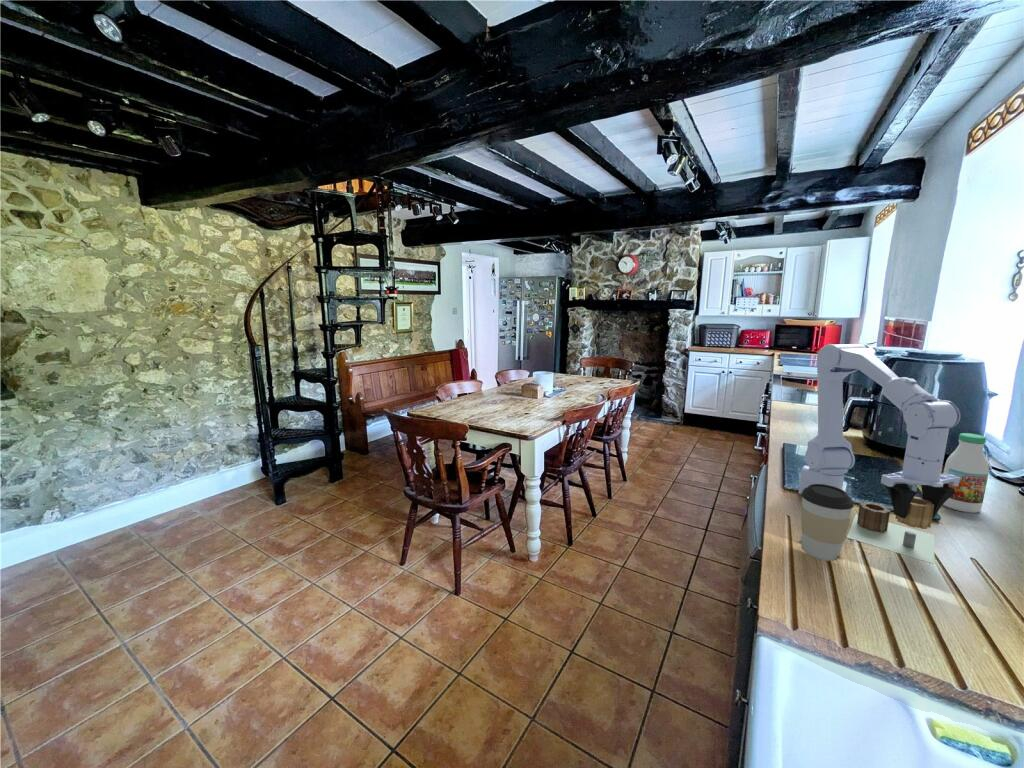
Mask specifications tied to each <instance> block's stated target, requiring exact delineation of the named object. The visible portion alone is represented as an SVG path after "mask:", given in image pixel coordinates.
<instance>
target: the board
mask: <svg viewBox="0 0 1024 768" xmlns="http://www.w3.org/2000/svg"><path fill="white" fill-rule="evenodd" d="M857 520H858V514H857V513H856V514H855V515H854V518H853V520H852V523H851V525H850V528H849V530H848V532H847V534H846V539H847V538H848V539H850V540H853V541H857V542H860V543H863V544H867V545H870V546H874V547H876V548H877V547H878V548H881V549H884V550H887V551H890V552H893V553H897V554H900V555H904V556H907V557H911V558H913V559H917V560H920V561H922V562H925V563H929V564H933V565H934V564H935V549H936V548H935V546H936V545H935V541H936V539H935V537H936V536H935V534H932V533H928V532H925V531H921V530H918V529H914V528H912V527H908V526H907V527H906V526H904V525H903V526H902V525H899V524H896V523H891V522H888V528H887V531H884V532H883V533H880V532H876V531H870V530H868V529H865V528H862V527H860V526H859V524H858V523H857Z"/></svg>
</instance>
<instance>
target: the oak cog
mask: <svg viewBox="0 0 1024 768" xmlns="http://www.w3.org/2000/svg"><path fill="white" fill-rule="evenodd" d="M933 510H934V504H932V502H930V501H928V500H924V499H922V497H919V496H916V495H915V496H914V498H913V499H912V501H911V503H910V506H909V510H908V514H907V516H906V518H901V517H899V516H897V515H895V519H896V520H897V522H899V523H900V524H904V525H906V526H907V527H909V528H913V529H914V528H916V529H917V528H918V529H922V530H927V529H928V528H931V527H932V526H931V525H932V520H933V518H932V515H933Z"/></svg>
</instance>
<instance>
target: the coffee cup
mask: <svg viewBox="0 0 1024 768" xmlns="http://www.w3.org/2000/svg"><path fill="white" fill-rule="evenodd" d="M800 495H801V497H802V498H801V499H802V500H801V503H800V504H801V505H800V506H801V507H800V515H801V517H800V522H801V523H800V528H801V529H800V530H801V549H802V550H803V552H804V553H806V554H808V555H809V556H811V557H813V558H815V559H817V560H823V561H831V562H833V561H838V560H839V559H840V554H841V552H842V547H843V544H844V542H845V540H846V539H845V538H846V537H847V533H848V528H849V525H850V522H851V514H852V513H851V512H852V509H853V508H854V506H855V505H854V503H853V499H852V498H851V497H850V496H849V495H848V493H847V491H845V490H843V488H842V489H839V488H837V487H834V486H830V485H825V484H812V485H809V486H808V487H806V488H804V489H803V492H802V493H801V494H800Z"/></svg>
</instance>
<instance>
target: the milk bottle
mask: <svg viewBox="0 0 1024 768" xmlns="http://www.w3.org/2000/svg"><path fill="white" fill-rule="evenodd" d="M986 442H987V438H986V437H985V436H983V435H981V434H976V433H969V432H962V433H960V434H958V446H957V447H956V448H955V450H953V452H952V453H950V455H949V456H948V457H947V459H946V461H945V464H944V469H943V473H942V474H952V475H954V476H957V477H960V481H959V486H952V485H949V487H950V488H953V489H955V494H954V495H953V496H951V497H950V498H949V499H948V500H947V501H945V503H944V504H943V505H942V506H944V507H946V508H949V509H952V510H955V511H959V512H964V513H971V514H973V513H976V514H977V513H980V511H981V510H982V507H983V503H984V498H985V495H986V489H987V484H988V478H989V472H990V470H989V469H990V467H989V463H988V462H989V461H988V460H987V457H986V455H985V453H984V446H986V445H985V444H986Z"/></svg>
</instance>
